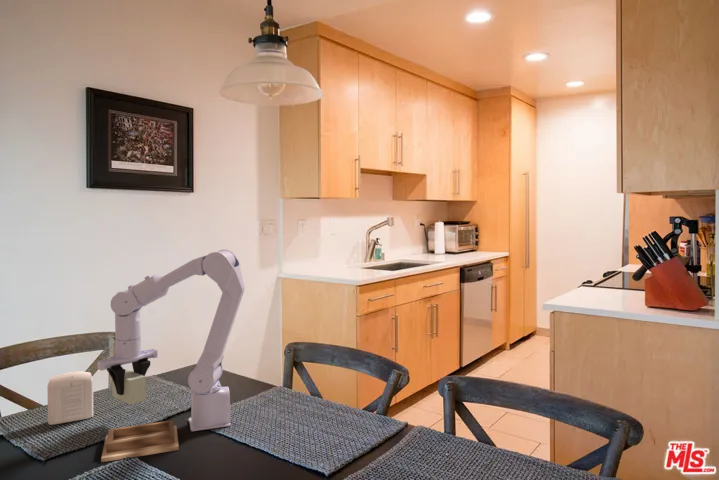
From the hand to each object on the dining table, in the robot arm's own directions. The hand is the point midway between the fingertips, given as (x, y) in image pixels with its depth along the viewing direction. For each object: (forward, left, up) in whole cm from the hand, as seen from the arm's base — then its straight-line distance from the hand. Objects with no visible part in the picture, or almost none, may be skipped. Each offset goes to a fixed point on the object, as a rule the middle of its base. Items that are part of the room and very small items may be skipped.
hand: (129, 391), depth 129 cm
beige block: (0, 0, -2) cm, 2 cm away
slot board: (-3, +13, -8) cm, 16 cm away
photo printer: (+14, -8, -8) cm, 18 cm away
